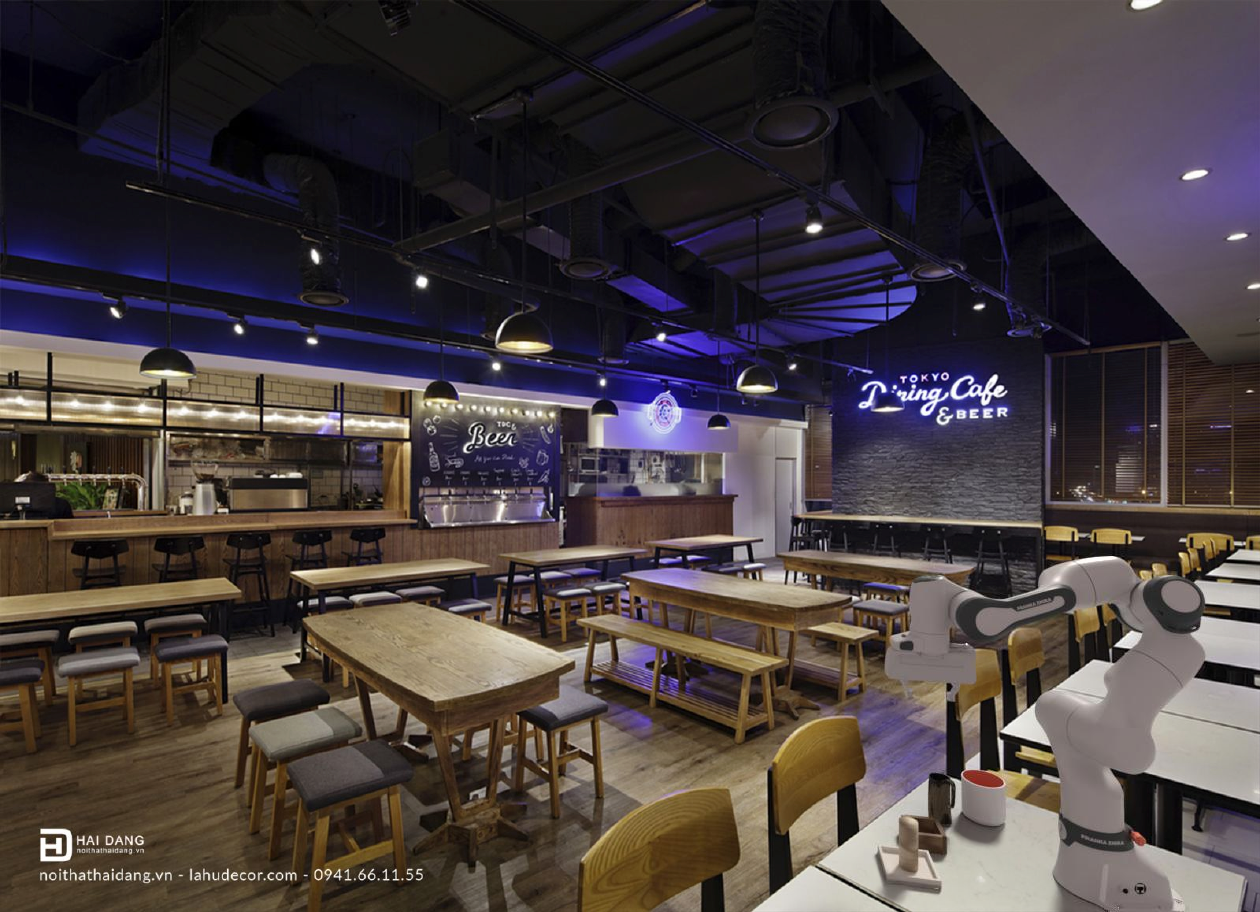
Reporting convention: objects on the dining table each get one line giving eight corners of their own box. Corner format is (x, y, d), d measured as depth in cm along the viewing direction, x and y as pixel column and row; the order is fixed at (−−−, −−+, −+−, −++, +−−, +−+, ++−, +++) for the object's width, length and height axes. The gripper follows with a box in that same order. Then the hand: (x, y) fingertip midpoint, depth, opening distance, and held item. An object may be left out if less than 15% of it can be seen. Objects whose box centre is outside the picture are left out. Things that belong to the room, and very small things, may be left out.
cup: (1012, 830, 155) (1012, 790, 155) (968, 826, 157) (968, 786, 157) (997, 809, 165) (996, 771, 165) (956, 805, 167) (956, 767, 167)
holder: (937, 834, 153) (937, 818, 153) (947, 855, 145) (947, 837, 145) (900, 830, 155) (900, 813, 155) (908, 850, 147) (908, 833, 147)
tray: (928, 858, 144) (928, 850, 144) (941, 889, 133) (941, 881, 133) (877, 852, 146) (877, 844, 146) (886, 882, 135) (886, 874, 135)
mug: (923, 815, 162) (922, 769, 162) (941, 813, 163) (941, 767, 163) (944, 833, 154) (943, 784, 154) (963, 830, 155) (963, 781, 155)
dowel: (916, 862, 141) (916, 817, 141) (920, 873, 137) (920, 827, 137) (897, 859, 142) (897, 815, 142) (900, 870, 138) (900, 825, 138)
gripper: (971, 641, 153) (972, 697, 152) (883, 636, 157) (883, 691, 157) (980, 648, 146) (980, 707, 146) (888, 642, 151) (888, 700, 150)
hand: (929, 699), depth 151 cm, fingers open, 8 cm apart
